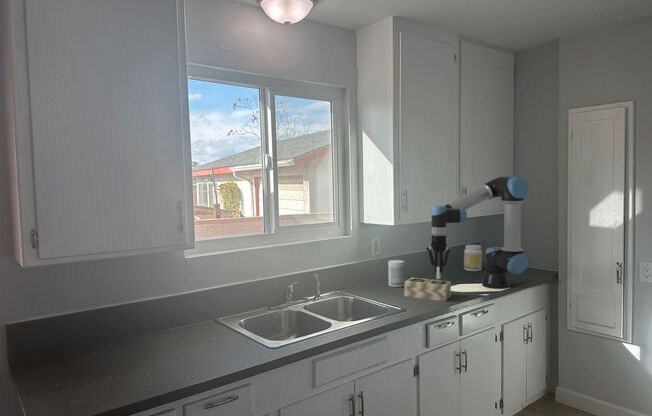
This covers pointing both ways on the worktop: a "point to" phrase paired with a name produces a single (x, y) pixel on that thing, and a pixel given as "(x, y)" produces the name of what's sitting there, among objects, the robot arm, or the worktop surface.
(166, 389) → the worktop surface
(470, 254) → the supplement tub
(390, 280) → the supplement tub
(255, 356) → the worktop surface
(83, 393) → the worktop surface
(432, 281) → the block
